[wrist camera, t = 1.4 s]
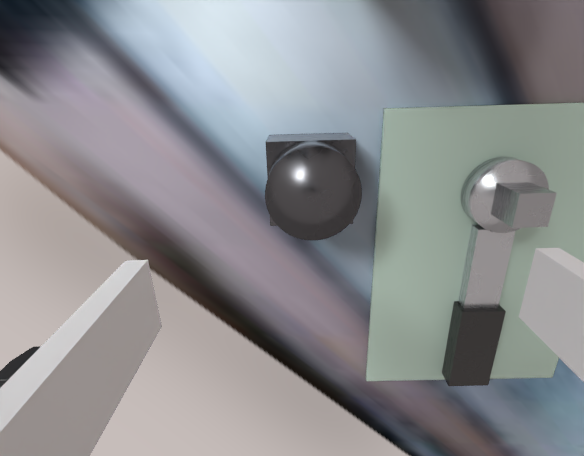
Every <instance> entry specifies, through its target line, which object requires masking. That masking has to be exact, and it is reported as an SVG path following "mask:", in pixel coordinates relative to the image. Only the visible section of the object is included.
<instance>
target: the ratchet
mask: <svg viewBox="0 0 584 456" xmlns="http://www.w3.org/2000/svg"><path fill="white" fill-rule="evenodd" d="M556 194H557V193H556V192H554V191H551V190H549V185H548V180H547V178H546V175H545V174H544V172H543V171H542V170H541V169H540V168H539V167H537V166H536V165H534V164H532V163H529V162H526V161H522V160H519V159H516V158H513V157H505V156H503V157H496V158H492V159H489V160H487V161H485V162H483V163H481V164H480V165H478V166H477V167H476V168H475V169H474V170H473V171H472V172H471V173H470V174H469V175H468V177H467V178H466V180H465V182H464V184H463V187H462V191H461V204H462V208H463V210H464V212H465V213H466V214H467V216H468V217H469V218H471V219H472V220H473V221H475V222H476V223H477V224H479V225H472V226H471V232H470V237H469V243H468V248H467V254H466V260H465V265H464V271H463V277H462V282H461V288H460V294H459V299H458V301H454V304H453V310H452V316H451V322H450V328H449V333H448V339H447V345H446V351H445V357H444V362H443V368H442V374H443V376H444V378H445V380H446V382H447V384H448V385H449V386H474V385H488V384H489V379H490V375H491V371H492V367H493V363H494V359H495V355H496V350H497V346H498V342H499V338H500V334H501V330H502V326H503V321H504V317H505V313H506V311H505V310H504V309H503V308H502V307H501V306H500V305H499V301H500V297H501V292H502V288H503V284H504V279H505V275H506V271H507V266H508V262H509V258H510V253H511V249H512V245H513V240H514V236H515V231H516V230H518V229H521V228H526V227H548V224H549V221H550V217H551V213H552V209H553V206H554V202H555V198H556Z"/></svg>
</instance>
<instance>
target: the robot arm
mask: <svg viewBox="0 0 584 456" xmlns="http://www.w3.org/2000/svg"><path fill="white" fill-rule="evenodd" d="M519 318H520V319H521V320H522V321H523V322H524V323H525V324H526V325H527V326H528V327H529V328H530V329H531V330H532V331H533V332H534V333H535V334H536V335H537V336H538V337H539V338H540V339H541V340H542V341H543V342H544V343H545V344H546V345H547V346H548V347H549V348H550V349H551V350H552V351H553V352H554V353H555V354H556V355H557V356H558V357H559V358H560V359H561V360H562V361H563V362H564V363H565V364H566V365H567V366H568V367H569V368H570V369H571V370H572V371H573V372H574V373H575V374H576V375H577V376H578V377H579V378H580V379H581V380H582V381H583V382H584V262H582V261H580V260H579V259H577V258H575V257H574V256H572V255H570V254H569V253H567V252H565V251H563V250H562V249H560V248H536V249H535V253H534V257H533V261H532V265H531V269H530V273H529V277H528V281H527V285H526V289H525V293H524V297H523V301H522V305H521V309H520V313H519ZM161 327H162V325H161V320H160V316H159V311H158V306H157V301H156V297H155V292H154V287H153V283H152V278H151V273H150V268H149V263H148V260H129V261H125V262H124V263H123V264H122V265H121V266H120V267H119V268H118V269H117V270H116V271H115V272H114V273H113V274H112V275H111V276H110V277H109V278H108V279H107V280H106V281H105V282H104V283H103V284H102V285H101V286H100V287H99V288H98V289H97V290H96V291H95V292H94V293H93V294H92V295H91V296H90V297H89V298H88V299H87V300H86V301H85V302H84V303H83V305H81V306H80V307H79V309H77V310H76V312H75V313H74V314H73V315H72V316H71V317H70V318H69V319H68V320H67V321H66V322H65V323H64V324H63V325H62V326H61V327H60V328H59V329H58V330H57V331H56V332H55V333H54V334H53V335H52V336H51V337H50V338H49V339H48V340H47V341H46V342H45V343H44V344H43V345H42V346H41V347H33V348H31V349H29V350H27V351H26V352H24V353H23V354H21V355H20V356H18V357H16V358H15V359H13V360H12V361H10V362H9V363H8V364H7V365H6V366H5V367H4V368H3V369H2V370H1V371H0V456H90V454H91V452H92V451H93V449H94V447H95V445H96V444H97V442H98V440H99V438H100V436H101V435H102V433H103V431H104V429H105V427H106V426H107V424H108V422H109V420H110V418H111V417H112V415H113V413H114V411H115V410H116V408H117V406H118V404H119V402H120V401H121V398H122V397H123V395H124V393H125V392H126V390H127V388H128V386H129V384H130V382H131V381H132V379H133V377H134V375H135V374H136V372H137V370H138V368H139V366H140V365H141V363H142V361H143V359H144V357H145V356H146V354H147V352H148V350H149V348H150V347H151V345H152V343H153V341H154V339H155V338H156V336H157V334H158V332H159V330H160V329H161Z"/></svg>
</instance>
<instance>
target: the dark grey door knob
mask: <svg viewBox="0 0 584 456" xmlns="http://www.w3.org/2000/svg"><path fill="white" fill-rule="evenodd" d="M355 152H356V139H355V138H354V137H352V136H351V135H350V134H349V133H322V134H287V135H269V137H268V139H267V141H266V155H267V173H268V180H267V184H266V190H265V200H266V205H267V209H268V212H269V214H270V226H277V225H278V226H279V227H280V228H281V229H282V230H283V231H284V232H286V233H288V234H289V235H291V236H294V237H296V238H300V239H304V240H321V239H326V238H329V237H331V236H334V235H336V234H337V233H339V232H341V231H342V230H343V229H345V228H346V227H347V226H348V225H349V224H353V219H354V217H355V216H356V214H357V212H358V209H359V207H360V203H361V197H362V188H361V182H360V179H359V176H358V174H357V172H356V170H355Z"/></svg>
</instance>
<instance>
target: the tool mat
mask: <svg viewBox="0 0 584 456" xmlns="http://www.w3.org/2000/svg"><path fill="white" fill-rule="evenodd" d="M503 156H505V157H513V158H516V159H519V160H522V161H526V162H529V163H532V164H534V165H536V166H537V167H539V168H540V169H541V170H542V171H543V172H544V174H545V175H546V178H547V180H548V185H549V190H551V191H554V192H556V193H557V194H556V198H555V202H554V206H553V209H552V213H551V217H550V221H549V224H548V227H526V228H521V229H518V230H516V231H515V236H514V240H513V245H512V249H511V253H510V258H509V262H508V266H507V271H506V275H505V279H504V284H503V288H502V292H501V297H500V301H499V305H500V306H501V307H502V308H503V309H504V310H505V311H506V313H505V317H504V321H503V326H502V330H501V334H500V338H499V342H498V346H497V350H496V355H495V359H494V363H493V367H492V371H491V375H490V379H506V378H552V377H553V374H554V371H555V368H556V365H557V362H558V359H559V357H558V356H557V355H556V354H555V353H554V352H553V351H552V350H551V349H550V348H549V347H548V346H547V345H546V344H545V343H544V342H543V341H542V340H541V339H540V338H539V337H538V336H537V335H536V334H535V333H534V332H533V331H532V330H531V329H530V328H529V327H528V326H527V325H526V324H525V323H524V322H523V321H522V320H521V319H520V318H519V313H520V309H521V305H522V301H523V297H524V293H525V289H526V285H527V281H528V277H529V273H530V269H531V265H532V261H533V257H534V253H535V249H536V248H560V249H562V250H563V251H565V252H567V253H569V254H570V255H572V256H574V257H575V258H577V259H579V260H580V261H582V262H584V103H552V104H518V105H484V106H450V107H416V108H384V112H383V127H382V142H381V157H380V172H379V187H378V202H377V217H376V232H375V247H374V262H373V277H372V292H371V307H370V321H369V336H368V351H367V366H366V381H401V380H445V378H444V376H443V374H442V368H443V362H444V357H445V351H446V345H447V339H448V333H449V328H450V322H451V316H452V310H453V304H454V301H458V299H459V294H460V288H461V282H462V277H463V271H464V265H465V260H466V254H467V248H468V243H469V237H470V232H471V226H472V225H479V224H477V223H476V222H475V221H473V220H472V219H471V218H469V217H468V216H467V214H466V213H465V212H464V210H463V208H462V204H461V191H462V187H463V184H464V182H465V180H466V178H467V177H468V175H469V174H470V173H471V172H472V171H473V170H474V169H475V168H476V167H477V166H478V165H480V164H481V163H483V162H485V161H487V160H489V159H492V158H496V157H503Z"/></svg>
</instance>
